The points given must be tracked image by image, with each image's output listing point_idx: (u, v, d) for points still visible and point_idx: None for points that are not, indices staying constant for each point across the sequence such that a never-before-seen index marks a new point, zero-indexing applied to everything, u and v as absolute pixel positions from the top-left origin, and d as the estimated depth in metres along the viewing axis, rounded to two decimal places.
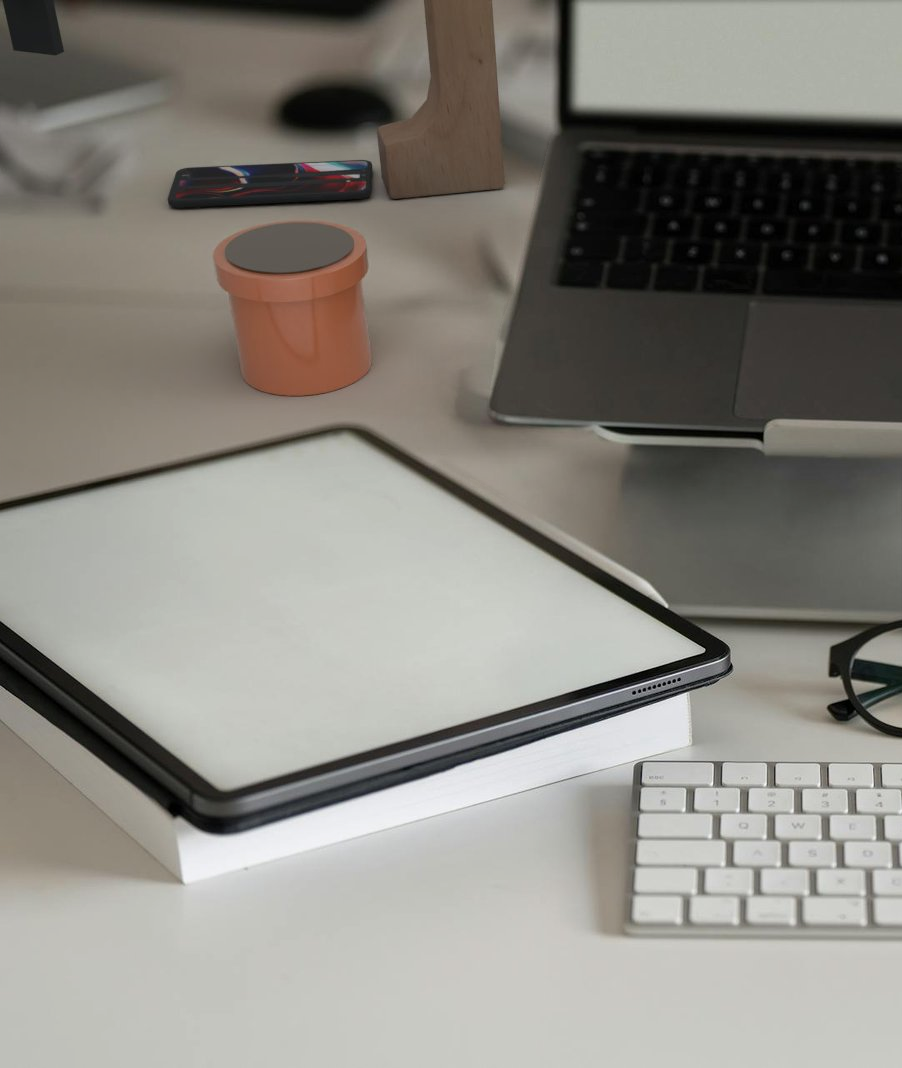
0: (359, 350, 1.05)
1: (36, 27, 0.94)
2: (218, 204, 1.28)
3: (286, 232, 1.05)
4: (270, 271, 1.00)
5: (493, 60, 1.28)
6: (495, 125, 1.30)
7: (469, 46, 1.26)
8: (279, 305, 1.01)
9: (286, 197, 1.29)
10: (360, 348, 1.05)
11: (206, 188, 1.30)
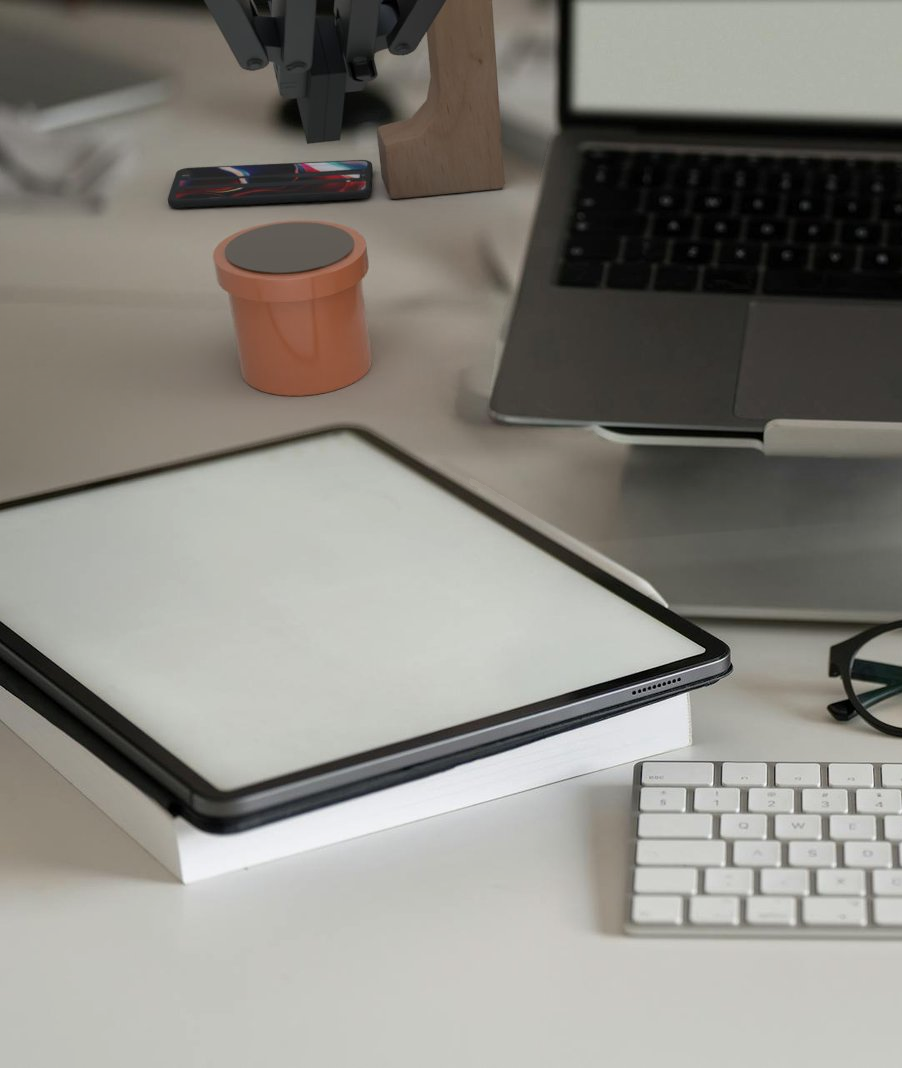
0: (359, 350, 1.05)
1: (304, 112, 0.78)
2: (219, 204, 1.28)
3: (286, 232, 1.05)
4: (270, 271, 1.00)
5: (493, 60, 1.28)
6: (495, 125, 1.30)
7: (469, 46, 1.26)
8: (279, 305, 1.01)
9: (286, 197, 1.29)
10: (360, 348, 1.05)
11: (206, 188, 1.30)
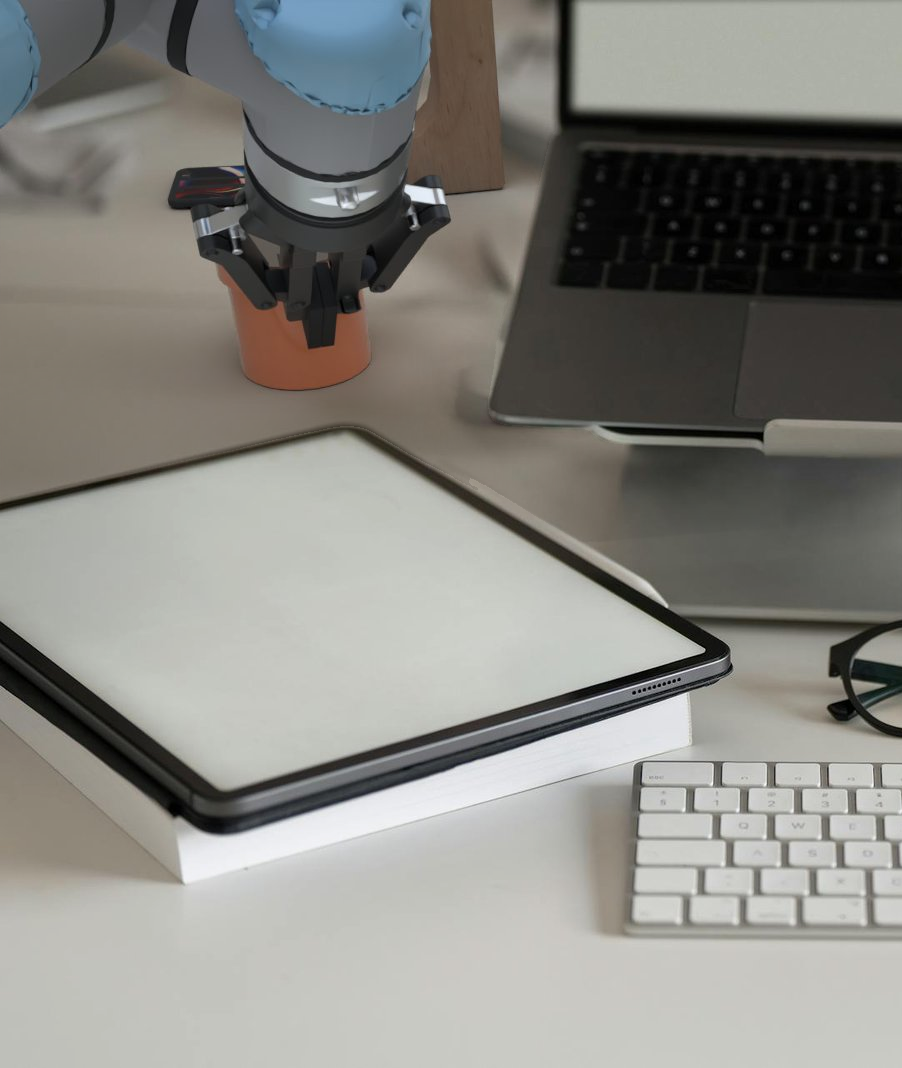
0: (359, 343, 1.06)
1: (305, 327, 1.00)
2: (219, 204, 1.28)
3: None
4: (272, 266, 1.00)
5: (493, 60, 1.28)
6: (495, 125, 1.30)
7: (469, 46, 1.26)
8: None
9: None
10: (361, 341, 1.06)
11: (206, 188, 1.30)
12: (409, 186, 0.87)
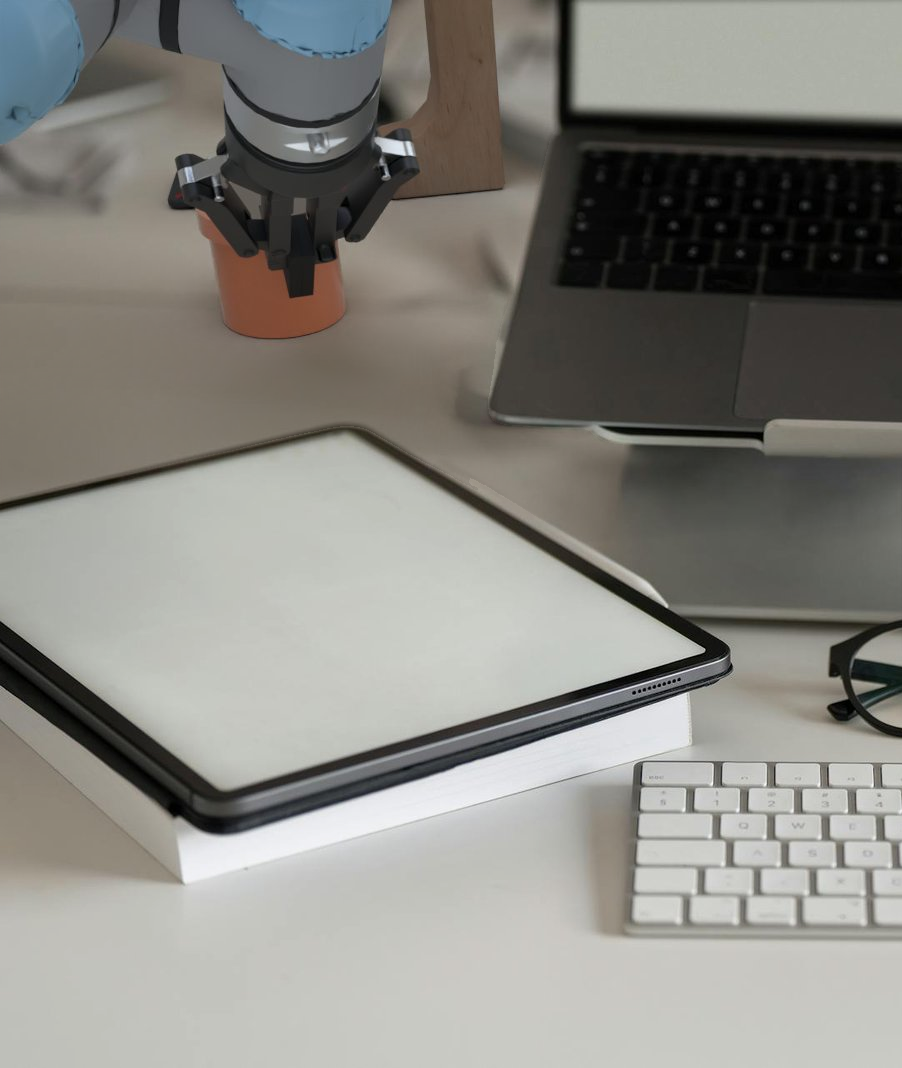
0: (338, 291, 1.12)
1: (286, 277, 1.06)
2: None
3: None
4: None
5: (493, 60, 1.28)
6: (495, 125, 1.30)
7: (469, 46, 1.26)
8: None
9: None
10: (339, 289, 1.12)
11: None
12: (380, 138, 0.93)
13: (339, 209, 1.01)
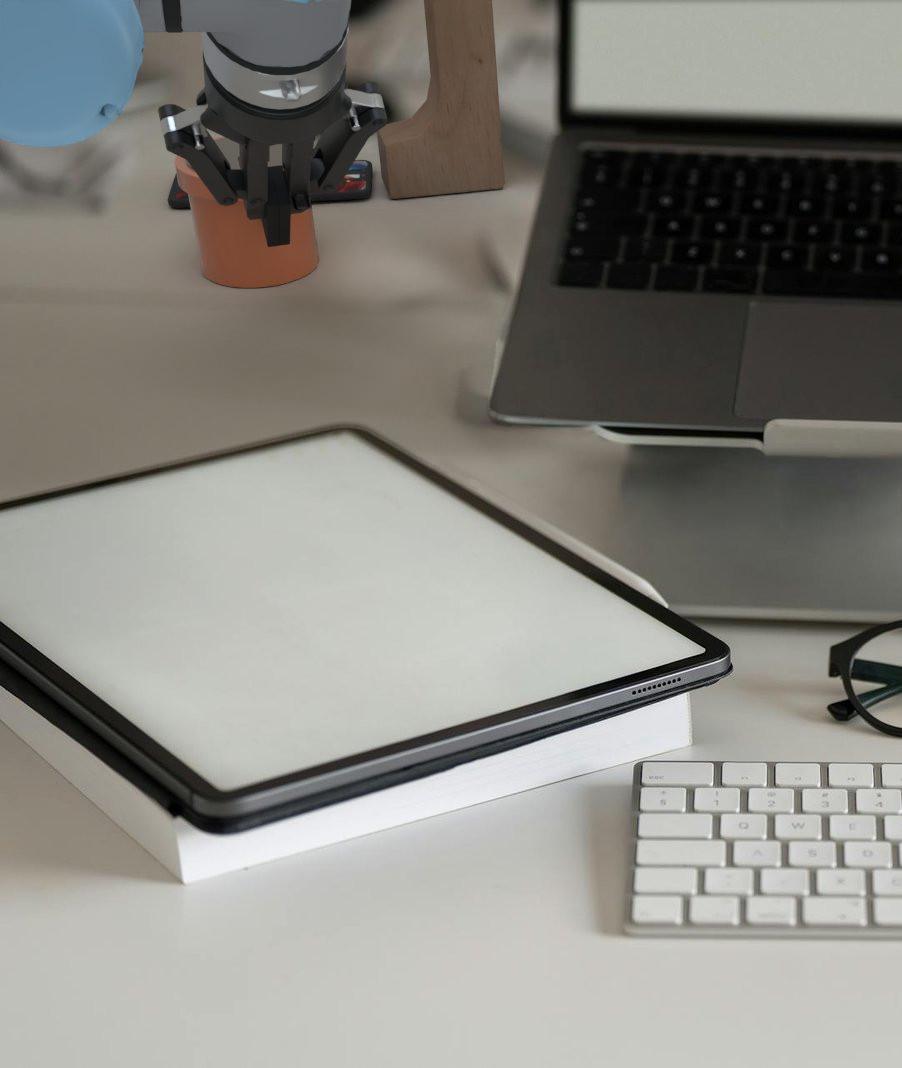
0: (313, 241, 1.19)
1: (265, 226, 1.12)
2: None
3: (231, 144, 1.17)
4: None
5: (493, 60, 1.28)
6: (495, 125, 1.30)
7: (469, 46, 1.26)
8: None
9: None
10: (314, 239, 1.19)
11: None
12: (350, 90, 0.99)
13: (313, 160, 1.07)
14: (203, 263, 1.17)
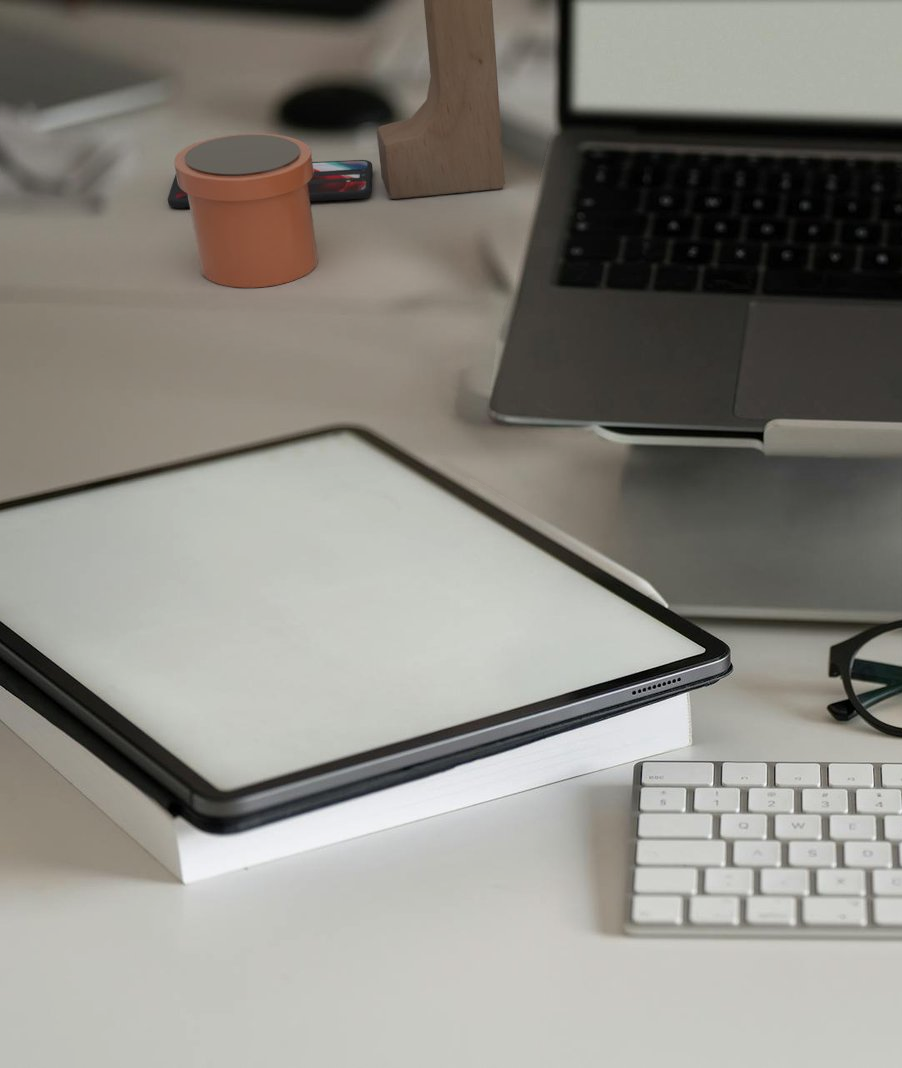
0: (312, 241, 1.19)
1: None
2: None
3: (230, 144, 1.17)
4: (241, 173, 1.13)
5: (493, 60, 1.28)
6: (495, 125, 1.30)
7: (469, 46, 1.26)
8: (251, 204, 1.14)
9: None
10: (313, 239, 1.19)
11: None
12: None
13: None
14: (202, 263, 1.18)
